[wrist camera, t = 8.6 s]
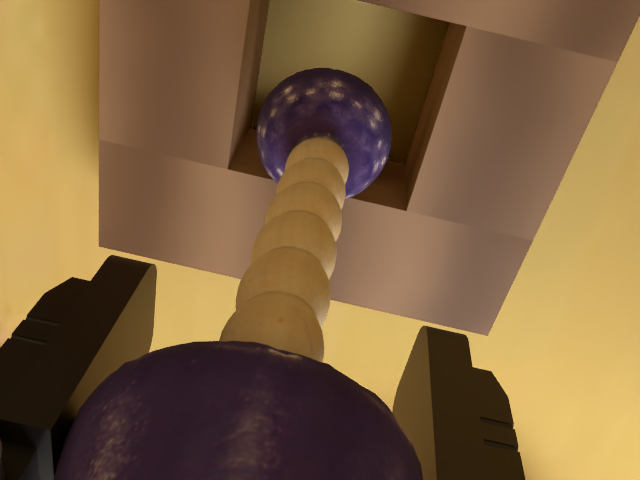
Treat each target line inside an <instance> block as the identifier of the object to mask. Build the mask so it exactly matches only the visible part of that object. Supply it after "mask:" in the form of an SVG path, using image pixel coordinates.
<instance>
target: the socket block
mask: <svg viewBox="0 0 640 480" xmlns="http://www.w3.org/2000/svg"><path fill="white" fill-rule="evenodd" d="M359 1H363V2H367V3H372V4H376V5H380V6H384V7H388V8H392V9H397V10H401V11H405V12H409V13H413V14H418V15H422V16H426V17H430V18H434V19H439V20H443V21H447V22H449V25H448V28H447V31H446V35H445V38H444V41H443V44H442V47H441V51H440V54H439V57H438V60H437V64H436V67H435V70H434V73H433V76H432V80H431V83H430V86H429V89H428V93H427V96H426V99H425V102H424V106H423V109H422V112H421V115H420V118H419V122H418V125H417V128H416V131H415V135H414V138H413V141H412V144H411V147H410V151H409V154H408V157H407V160H406V164H403V163H399V162H394V161H390V160H387V161H386V163H385V165H384V168H383V170H382V171H381V172H380V174H379V175H378V176H377V178H376V179H375V180H374V181H373V182H372V183H371V184H370V185H369V186H368V187H367V188H365V189H364V190H363V191H362V192H360V193H358V194H356V195H354V196H352V197H350V198H348V199H345V200H344V204H343V207H342V209H341V212H342V226H341V231H340V234H339V237H338V239H337V241H336V250H337V255H336V262H335V267H334V270H333V272H332V275H331V277H330V279H329V284H330V293H331V295H330V300H334V301H339V302H343V303H347V304H352V305H356V306H360V307H365V308H369V309H373V310H378V311H382V312H386V313H391V314H395V315H399V316H404V317H408V318H412V319H417V320H421V321H425V322H430V323H434V324H439V325H443V326H447V327H452V328H456V329H460V330H465V331H469V332H473V333H478V334H482V335H486V336H488V334H489V332H490V330H491V328H492V325H493V323H494V321H495V319H496V317H497V315H498V313H499V311H500V309H501V307H502V304H503V302H504V300H505V298H506V296H507V294H508V292H509V290H510V288H511V285H512V283H513V281H514V279H515V277H516V275H517V273H518V271H519V269H520V267H521V264H522V262H523V260H524V258H525V256H526V254H527V252H528V250H529V248H530V245H531V243H532V241H533V239H534V237H535V235H536V233H537V231H538V229H539V227H540V224H541V222H542V220H543V218H544V216H545V214H546V212H547V210H548V208H549V205H550V203H551V201H552V199H553V197H554V195H555V193H556V191H557V189H558V186H559V184H560V182H561V180H562V178H563V176H564V174H565V172H566V170H567V168H568V165H569V163H570V161H571V159H572V157H573V155H574V153H575V151H576V149H577V146H578V144H579V142H580V140H581V138H582V136H583V134H584V132H585V130H586V128H587V125H588V123H589V121H590V119H591V117H592V115H593V113H594V111H595V109H596V106H597V104H598V102H599V100H600V98H601V96H602V94H603V92H604V90H605V88H606V85H607V83H608V81H609V79H610V77H611V75H612V73H613V71H614V69H615V66H616V64H617V62H618V60H619V58H620V56H621V54H622V52H623V50H624V48H625V45H626V43H627V41H628V39H629V37H630V35H631V33H632V31H633V29H634V26H635V24H636V22H637V20H638V18H639V16H640V0H359ZM268 6H269V0H99V247H104V248H108V249H112V250H117V251H121V252H125V253H130V254H134V255H139V256H143V257H147V258H152V259H156V260H160V261H165V262H169V263H173V264H178V265H182V266H186V267H191V268H195V269H199V270H204V271H208V272H212V273H217V274H221V275H225V276H230V277H234V278H239V279H242V277H243V276H244V274H245V272H246V270H247V269H248V268H249V267H250V265H251V254H252V248H253V244H254V242H255V240H256V237H257V235H258V234H259V232H260V231H261V229H262V228H263V226H264V224H265V215H266V212H267V209H268V207H269V205H270V203H271V201H272V200H273V198H274V197H275V196H276V189H277V185H278V184H277V183H276V182H275V181H274V180H273V179H272V177H271V176H270V175H269V174H268V172H267V171H266V169H265V167H264V165H263V163H262V161H261V158H260V155H259V151H258V146H257V137H256V129H254V128H250V127H251V121H252V114H253V107H254V100H255V94H256V87H257V80H258V74H259V67H260V60H261V53H262V47H263V40H264V33H265V26H266V20H267V13H268Z"/></svg>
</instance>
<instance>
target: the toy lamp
mask: <svg viewBox="0 0 640 480" xmlns="http://www.w3.org/2000/svg"><path fill="white" fill-rule="evenodd" d="M256 137H257V146H258V151H259V155H260V158H261V161H262V163H263V165H264V167H265V169H266V171H267V172H268V174H269V175H270V176H271V177H272V179H273V180H274V181H275V182H276V183H277V184H278V185H277V189H276V196H275V197H274V198H273V200H272V201H271V203H270V205H269V207H268V209H267V212H266V215H265V224H264V226H263V228H262V229H261V231H260V232H259V234H258V235H257V237H256V240H255V242H254V244H253V248H252V254H251V265H250V267H249V268H248V269H247V270H246V272H245V274H244V276H243V277H242V279H241V281H240V284H239V287H238V291H237V297H236V311H235V313H234V314H233V315H232V316H231V317H230V319H229V320H228V321H227V323H226V325H225V327H224V329H223V331H222V333H221V337H220V340H219V341H208V342H191V343H186V344H180V345H175V346H171V347H167V348H163V349H159V350H156V351H153V352H150V353H147V354H145V355H143V356H141V357H140V358H138V359H135V360H132V361H128V362H125V363H124V364H123V365H122V366H121V367H120V368H118V369H117V370H116V371H114V372H113V373H111V374H110V375H109V376H108V377H107V378H106V379H105V380H104V381H103V382H102V383H100V384H99V386H98V387H97V388H96V389H95V390H94V391H93V392H92V394H91V395H90V396H89V397H88V398H87V399H86V401H85V402H84V403H83V405H82V406H81V408H80V409H79V411H78V413H77V415H76V417H75V419H74V421H73V423H72V426H71V428H70V430H69V432H68V434H67V436H66V438H65V440H64V444H63V448H62V452H61V456H60V459H59V462H58V465H57V468H56V473H55V477H54V480H423V475H422V469H421V463H420V461H419V459H418V457H417V454H416V452H415V449H414V446H413V444H412V442H411V441H410V439H409V438H408V436H407V434H406V432H405V430H404V429H403V428H402V427H401V426H400V425H399V423H398V421H397V420H396V418H395V417H394V415H393V414H392V412H391V411H390V409H389V408H388V406H387V405H386V404H385V403H384V402H383V401H382V400H381V399H380V398H379V397H378V396H377V395H376V394H375V393H373V392H371V391H370V390H368V389H366V388H364V387H362V386H361V385H359V384H358V383H357V382H355V381H354V380H352V379H350V378H349V377H347V376H346V375H344V374H342V373H341V372H339V371H337V370H336V369H334V368H333V367H332V366H331V365H329V364H326V363H323V362H322V361H323V356H324V341H323V334H322V329H321V326H322V325H323V323H324V321H325V319H326V316H327V313H328V309H329V305H330V295H331V293H330V284H329V279H330V277H331V275H332V272H333V270H334V267H335V262H336V255H337V250H336V241H337V239H338V237H339V234H340V231H341V226H342V212H341V209H342V207H343V204H344V200H345V199H348V198H350V197H352V196H354V195H356V194H358V193H360V192H362V191H363V190H364V189H365V188H367V187H368V186H369V185H370V184H371V183H372V182H373V181H374V180H375V179H376V178H377V176H378V175H379V174H380V172H381V171H382V170H383V168H384V165H385V163H386V161H387V159H388V156H389V152H390V149H391V141H392V126H391V121H390V118H389V115H388V112H387V109H386V107H385V106H384V104H383V102H382V100H381V99H380V98H379V96H378V95H377V94H376V93H375V92H374V90H373V89H372V87H370V86H369V85H368V84H367V83H365V82H364V81H362V80H361V79H359V78H358V77H356V76H354V75H352V74H349V73H347V72H344V71H341V70H333V69H330V68H314V69H309V70H304V71H301V72H297V73H296V74H294V75H292V76H290V77H288V78H286V79H285V80H283V81H282V82H281V83H279V84H278V85H277V86H276V87H275V88H274V89H273V90H272V91H271V92H270V93H269V95H268V97H267V98H266V99H265V102H264V104H263V105H262V108H261V110H260V114H259V117H258V121H257V128H256Z"/></svg>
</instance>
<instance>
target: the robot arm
mask: <svg viewBox="0 0 640 480" xmlns="http://www.w3.org/2000/svg"><path fill="white" fill-rule="evenodd" d="M156 278H157V269H156V266H155V265H154V264H150V263H146V262H141V261H137V260H132V259H128V258H123V257H119V256H114V255H111V256H109V257H108V258H107V259H106V260H105V262H104V263H103V265H102V266H101V267H100V269H99V270H98V272H97V273H96V274H95V276H94V277H93V278H92V280H91V281H87V280H83V279H78V278H74V277H72V278H70V279H68V280H67V281H65V282H63V283H61V284H60V285H58V286H56V287H55V288H53V289H51V290H49V291H48V292H46V293H45V294H44V295H43V296H42V297H41V298H40V300H39V301H38V302H37V303H36V305H35V306H34V307H33V308H32V310H31V311H30V312H29V313H28V314H27V318H26V320H23V321H22V322H21V323H20V324H19V326H18V327H17V328H16V329H15V331H14V332H13V333H12V337H11V338H10V339H9V338H8V339H7V340H6V342H5V343H4V344H3V345H2V347H1V348H0V480H54V477H55V473H56V468H57V465H58V462H59V459H60V456H61V452H62V448H63V444H64V440H65V438H66V436H67V434H68V432H69V430H70V428H71V426H72V423H73V421H74V419H75V417H76V415H77V413H78V411H79V409H80V408H81V406H82V405H83V403H84V402H85V401H86V399H87V398H88V397H89V396H90V395H91V394H92V392H93V391H94V390H95V389H96V388H97V387H98V386H99V384H100V383H102V382H103V381H104V380H105V379H106V378H107V377H108V376H109V375H110V374H111V373H113V372H114V371H116V370H117V369H118V368H120V367H121V366H122V365H123V364H124V363H125V362H128V361H132V360H135V359H138V358H140V357H141V356H143V355H145V354H147V353H149V350H150V346H151V342H152V336H153V327H154V311H155V295H156ZM392 414H393V415H394V417H395V418H396V420H397V421H398V423H399V425H400V426H401V427H402V428H403V429H404V430H405V432H406V434H407V436H408V438H409V439H410V441H411V442H412V444H413V446H414V449H415V452H416V454H417V457H418V459H419V461H420V463H421V469H422V475H423V480H525V476H524V471H523V466H522V461H521V456H520V452H518V442H517V437H516V433H515V429H513V425H514V423H513V418H512V413H511V409H510V404H509V399H508V396H507V395H506V393H505V392H504V390H503V389H502V387H501V386H500V384H499V382H498V381H497V379H496V378H495V376H494V375H493V373H492V372H491V371H487V370H483V369H478V368H474V367H472V361H471V355H470V348H469V342H468V338H467V336H466V335H464V334H459V333H455V332H450V331H446V330H441V329H437V328H433V327H428V326H423V327H422V328H421V329H420V331H419V333H418V335H417V338H416V341H415V343H414V346H413V349H412V351H411V354H410V356H409V359H408V362H407V364H406V367H405V370H404V372H403V375H402V377H401V380H400V383H399V385H398V388H397V392H396V396H395V400H394V405H393V412H392Z"/></svg>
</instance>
